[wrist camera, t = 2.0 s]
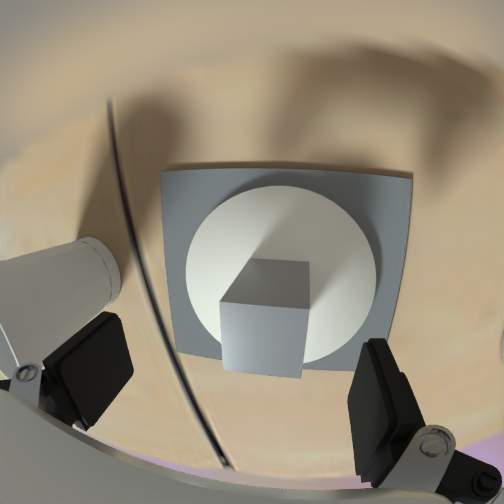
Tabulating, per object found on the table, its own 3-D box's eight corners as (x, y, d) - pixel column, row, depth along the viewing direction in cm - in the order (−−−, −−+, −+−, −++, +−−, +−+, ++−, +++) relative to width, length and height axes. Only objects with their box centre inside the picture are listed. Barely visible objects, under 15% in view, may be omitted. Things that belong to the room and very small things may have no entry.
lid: (381, 192, 15) (431, 203, 8) (355, 361, 18) (367, 433, 11) (188, 185, 17) (121, 193, 10) (198, 346, 20) (158, 407, 13)
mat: (409, 179, 14) (411, 179, 14) (376, 366, 18) (377, 370, 18) (164, 171, 17) (160, 171, 17) (179, 348, 21) (176, 351, 21)
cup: (62, 223, 20) (-45, 261, 9) (125, 232, 19) (-7, 288, 8) (72, 301, 23) (-13, 358, 11) (133, 322, 21) (40, 408, 10)
